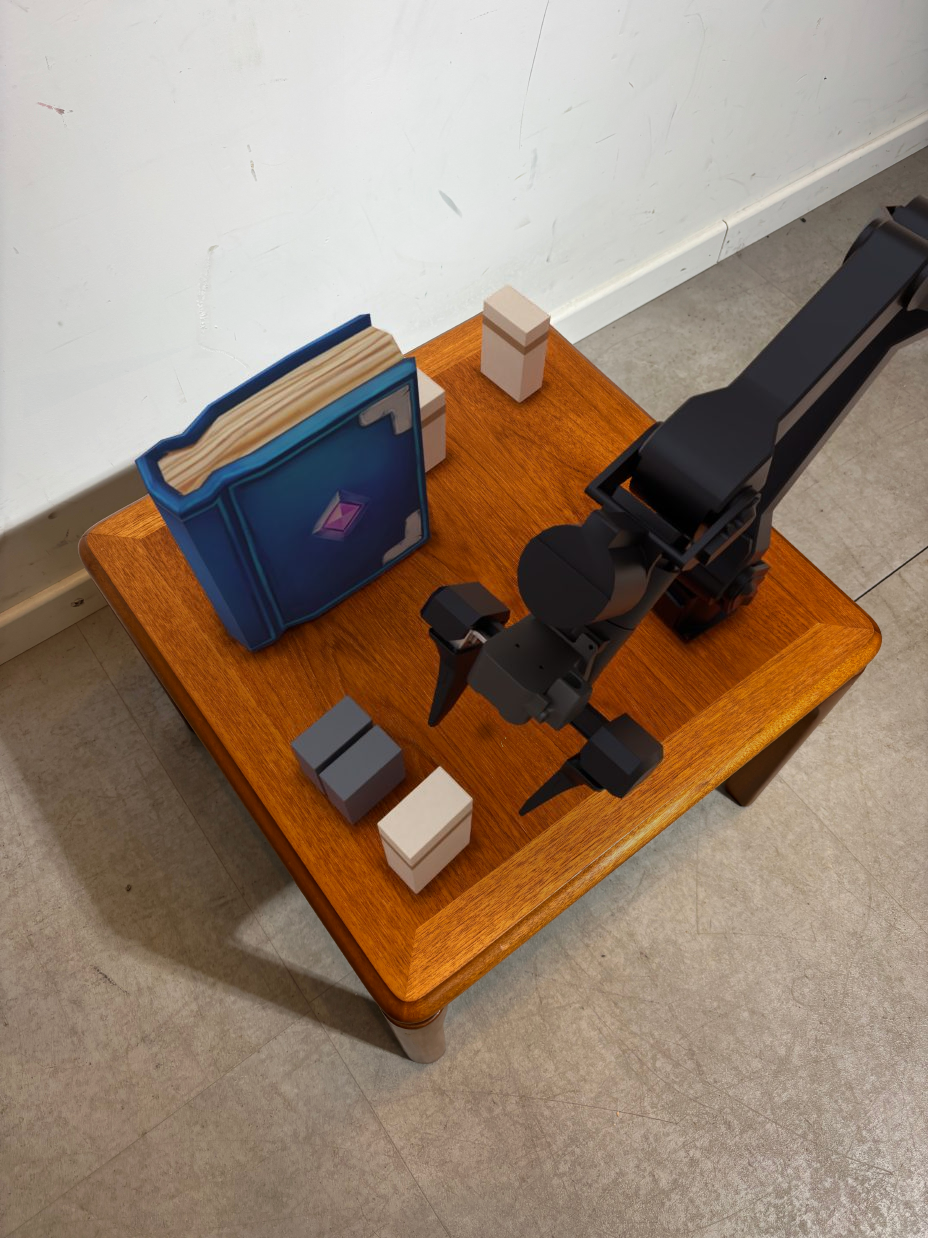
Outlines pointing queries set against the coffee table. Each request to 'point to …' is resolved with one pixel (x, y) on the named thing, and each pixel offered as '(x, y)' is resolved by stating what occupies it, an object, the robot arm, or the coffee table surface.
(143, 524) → the coffee table surface
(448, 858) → the white lidded box
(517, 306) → the cream lidded boxes
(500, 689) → the robot arm
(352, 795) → the grey blocks
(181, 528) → the book
